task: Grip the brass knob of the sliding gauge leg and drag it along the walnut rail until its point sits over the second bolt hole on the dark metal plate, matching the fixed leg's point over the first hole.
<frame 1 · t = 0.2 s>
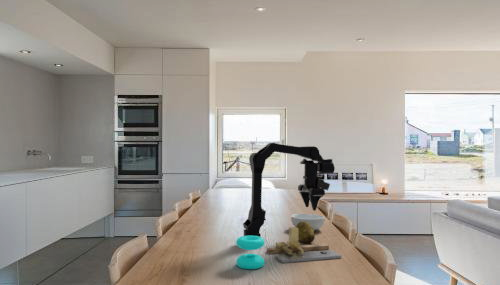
hand: (310, 208, 171), 14 cm above the table, tool pointing down, fingers open, 9 cm apart
hole plate: (308, 257, 146), on the table
donuts: (250, 266, 136), on the table
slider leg: (296, 239, 151), point 5 cm above the table, slide at 0.0 cm
rail: (298, 250, 155), on the table
cereal bowl: (307, 230, 193), on the table
potato: (305, 241, 171), on the table
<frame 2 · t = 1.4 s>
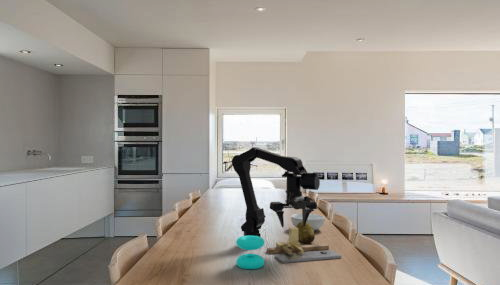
hand: (293, 226, 155), 10 cm above the table, tool pointing down, fingers open, 9 cm apart
nothing on the table moved.
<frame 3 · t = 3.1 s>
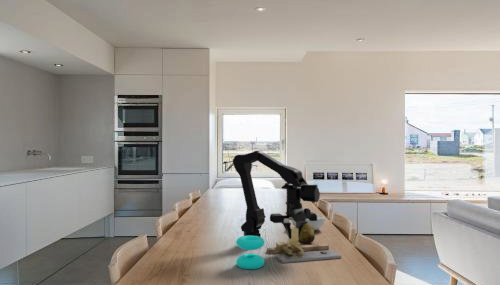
hand: (293, 238, 155), 5 cm above the table, tool pointing down, fingers closed on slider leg, 3 cm apart
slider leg: (296, 239, 151), point 5 cm above the table, slide at 0.0 cm, touching gripper
everything else where it was.
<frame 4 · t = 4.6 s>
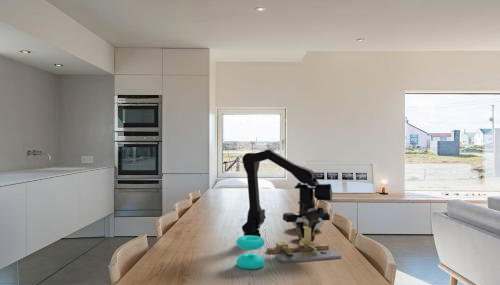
hand: (306, 237, 156), 5 cm above the table, tool pointing down, fingers closed on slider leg, 3 cm apart
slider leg: (309, 238, 153), point 5 cm above the table, slide at 5.6 cm, touching gripper
everything else where it was.
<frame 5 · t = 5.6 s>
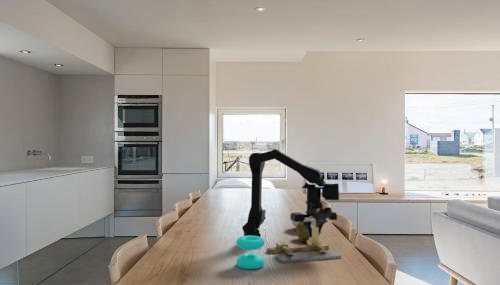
hand: (313, 237, 157), 5 cm above the table, tool pointing down, fingers closed on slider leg, 3 cm apart
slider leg: (317, 238, 154), point 5 cm above the table, slide at 8.9 cm, touching gripper
everything else where it was.
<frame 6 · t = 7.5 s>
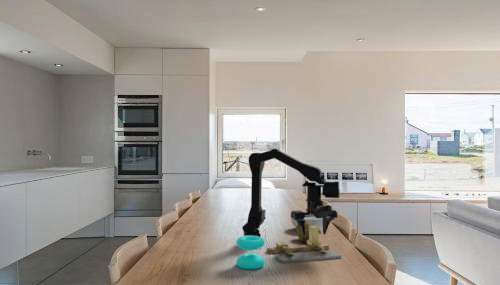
hand: (314, 235, 157), 6 cm above the table, tool pointing down, fingers open, 9 cm apart
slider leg: (317, 238, 154), point 5 cm above the table, slide at 8.9 cm
everything else where it was.
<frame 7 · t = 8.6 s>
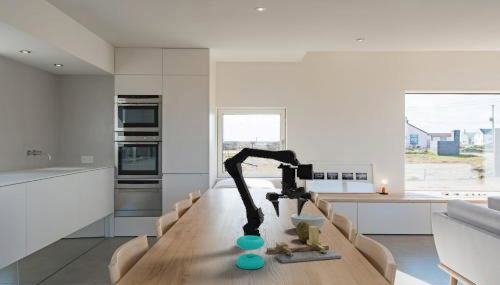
hand: (288, 216, 161), 13 cm above the table, tool pointing down, fingers open, 9 cm apart
nothing on the table moved.
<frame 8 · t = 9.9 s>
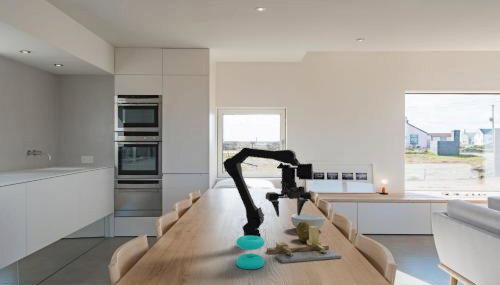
hand: (288, 216, 161), 13 cm above the table, tool pointing down, fingers open, 9 cm apart
nothing on the table moved.
at the end: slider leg slide at 8.9 cm; the gripper is holding nothing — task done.
